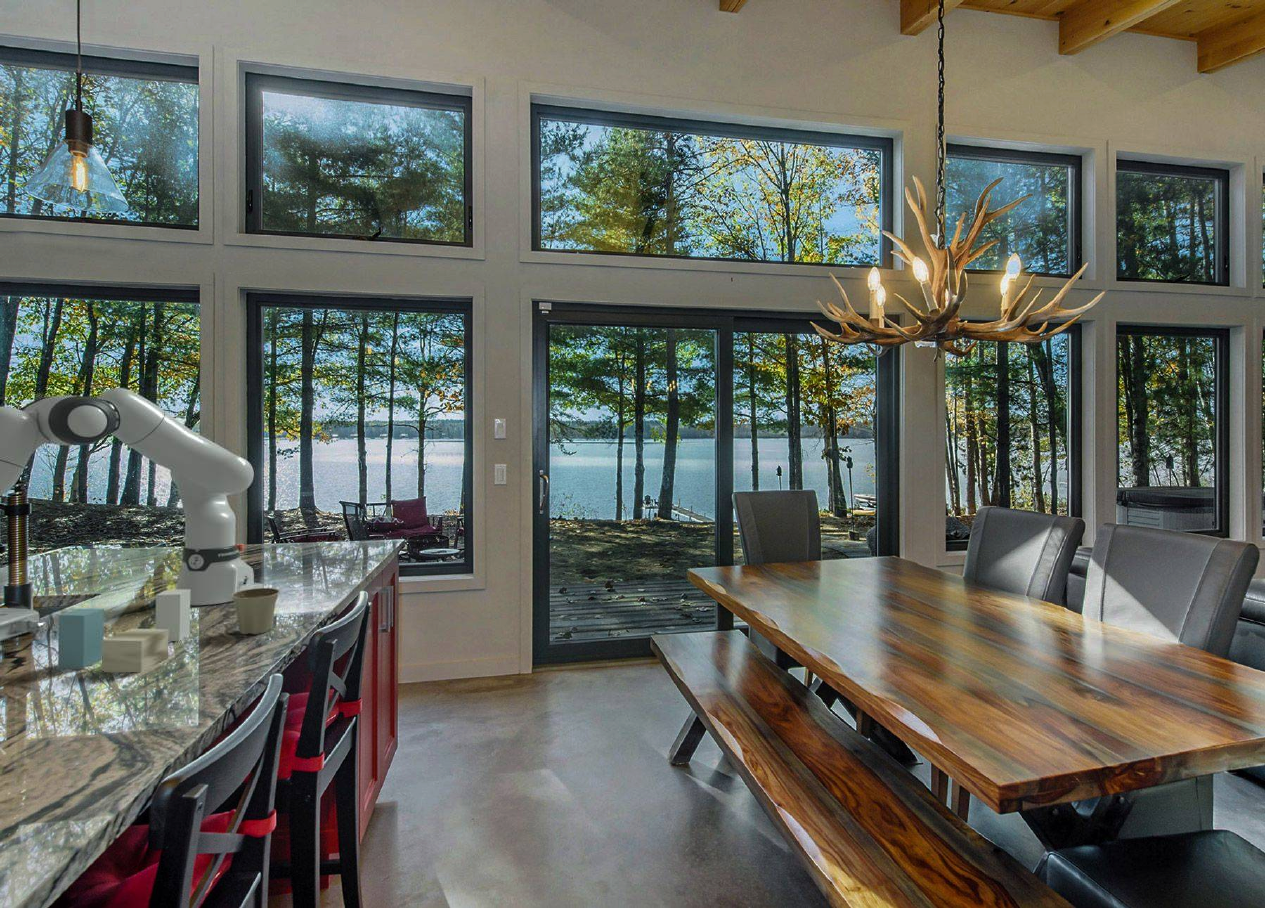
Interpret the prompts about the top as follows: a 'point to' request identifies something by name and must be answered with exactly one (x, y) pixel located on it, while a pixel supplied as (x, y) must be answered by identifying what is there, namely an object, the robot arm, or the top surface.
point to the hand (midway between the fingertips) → (19, 634)
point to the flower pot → (255, 609)
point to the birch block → (134, 650)
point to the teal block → (80, 638)
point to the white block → (173, 613)
